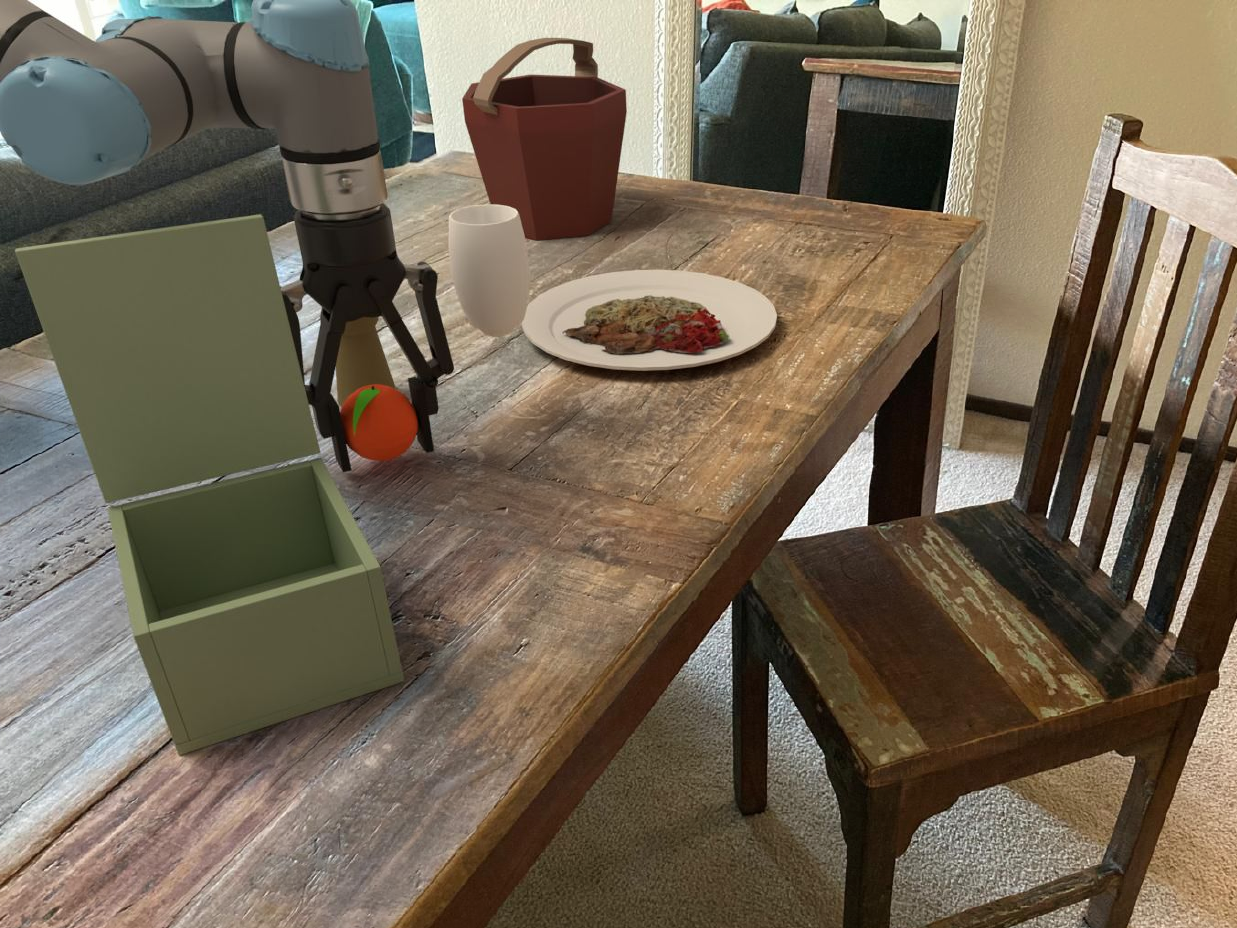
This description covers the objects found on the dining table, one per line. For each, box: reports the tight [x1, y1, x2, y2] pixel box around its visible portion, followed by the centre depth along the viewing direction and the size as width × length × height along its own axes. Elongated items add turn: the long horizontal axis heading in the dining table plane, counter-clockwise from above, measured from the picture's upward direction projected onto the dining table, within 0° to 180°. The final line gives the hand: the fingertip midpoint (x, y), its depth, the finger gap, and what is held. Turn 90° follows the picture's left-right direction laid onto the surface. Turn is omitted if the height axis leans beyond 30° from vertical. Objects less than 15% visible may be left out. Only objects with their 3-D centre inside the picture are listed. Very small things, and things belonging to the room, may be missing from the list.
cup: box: [447, 203, 531, 338], centre depth 105 cm, size 7×7×21 cm
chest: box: [107, 457, 405, 756], centre depth 77 cm, size 17×15×10 cm
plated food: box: [520, 269, 778, 372], centre depth 129 cm, size 30×30×3 cm
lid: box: [14, 214, 321, 504], centre depth 76 cm, size 18×15×1 cm
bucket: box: [461, 37, 628, 241], centre depth 156 cm, size 24×22×25 cm
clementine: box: [340, 384, 418, 462], centre depth 99 cm, size 8×7×7 cm
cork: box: [335, 317, 397, 407], centre depth 111 cm, size 6×6×11 cm
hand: (385, 455), depth 101 cm, fingers closed on clementine, 7 cm apart
